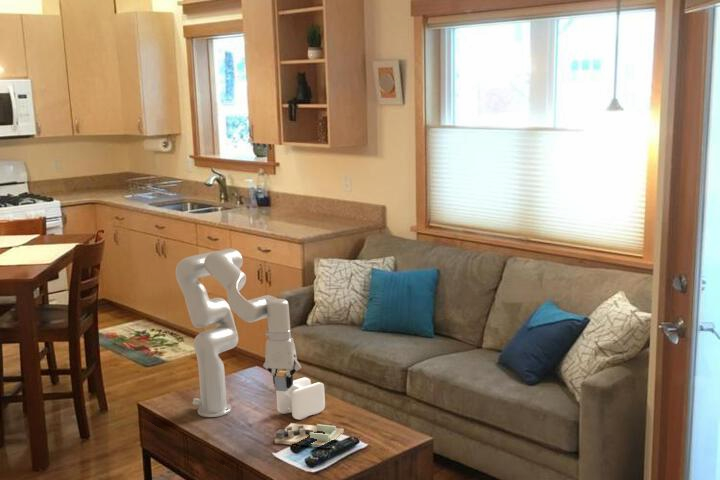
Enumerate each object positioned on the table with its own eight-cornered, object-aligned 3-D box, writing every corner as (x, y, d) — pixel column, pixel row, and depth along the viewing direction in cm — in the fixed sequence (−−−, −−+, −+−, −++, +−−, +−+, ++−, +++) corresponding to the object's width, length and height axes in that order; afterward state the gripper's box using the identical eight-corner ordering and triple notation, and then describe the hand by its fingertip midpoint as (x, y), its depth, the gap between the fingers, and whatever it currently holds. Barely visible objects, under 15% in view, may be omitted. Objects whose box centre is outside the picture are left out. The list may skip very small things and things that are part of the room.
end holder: (309, 439, 268) (309, 433, 267) (317, 430, 275) (317, 424, 274) (329, 441, 265) (329, 435, 265) (337, 432, 272) (337, 426, 272)
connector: (275, 390, 270) (274, 373, 269) (280, 386, 273) (279, 370, 272) (285, 391, 268) (284, 374, 267) (290, 387, 272) (289, 370, 271)
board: (275, 442, 268) (274, 433, 268) (291, 426, 281) (290, 416, 281) (329, 449, 262) (329, 439, 262) (343, 431, 275) (343, 422, 275)
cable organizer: (293, 423, 284) (291, 392, 282) (276, 415, 292) (274, 385, 290) (325, 411, 294) (324, 382, 292) (308, 403, 302) (307, 375, 300)
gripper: (252, 337, 267) (256, 388, 270) (297, 339, 262) (301, 391, 265) (262, 331, 274) (266, 381, 277) (306, 333, 269) (310, 384, 272)
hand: (283, 385), depth 271 cm, fingers closed on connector, 4 cm apart
